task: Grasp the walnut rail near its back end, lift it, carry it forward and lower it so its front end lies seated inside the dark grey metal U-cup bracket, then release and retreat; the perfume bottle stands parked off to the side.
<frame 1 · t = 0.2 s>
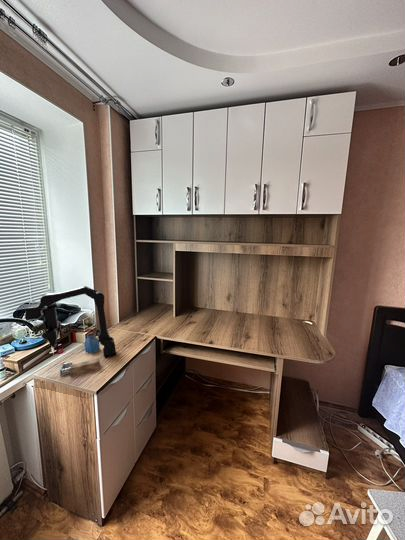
hand: (54, 343, 125), 14 cm above the table, fingers open, 9 cm apart
cup bracket: (68, 370, 123), on the table
perfume bottle: (92, 351, 145), on the table
rail: (86, 370, 122), on the table
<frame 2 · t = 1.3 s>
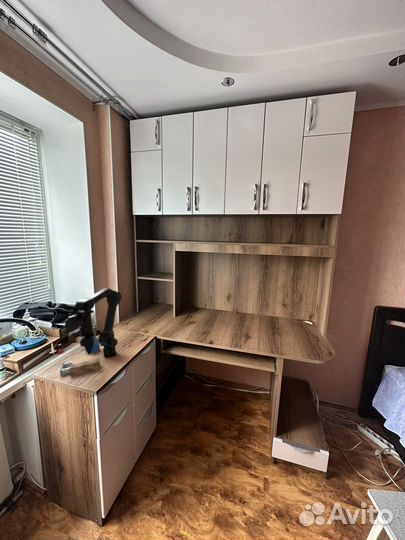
hand: (89, 350, 122), 10 cm above the table, fingers open, 9 cm apart
nothing on the table moved.
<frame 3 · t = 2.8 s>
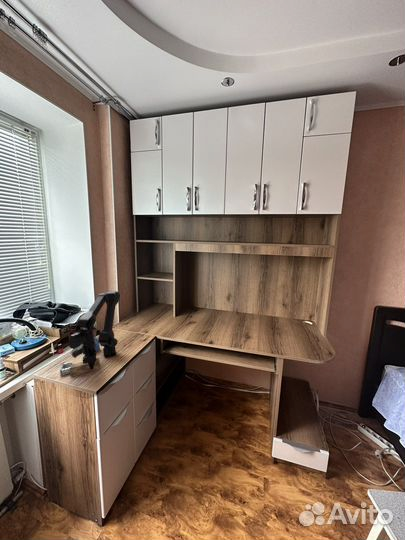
hand: (91, 367, 123), 1 cm above the table, fingers closed on rail, 4 cm apart
rail: (86, 370, 122), on the table, touching gripper
everything else where it was.
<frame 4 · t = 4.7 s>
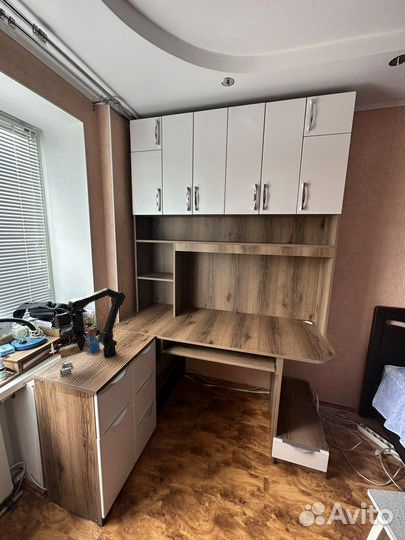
hand: (81, 348, 125), 11 cm above the table, fingers closed on rail, 4 cm apart
rail: (76, 352, 124), point 9 cm above the table, touching gripper
everything else where it was.
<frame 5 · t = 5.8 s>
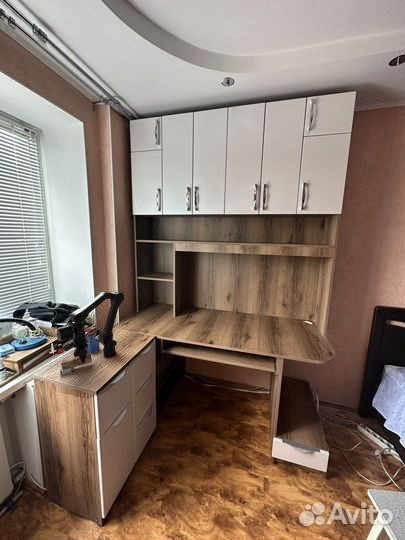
hand: (83, 360, 126), 3 cm above the table, fingers closed on rail, 4 cm apart
rail: (78, 364, 125), point 2 cm above the table, touching gripper
everything else where it was.
when the fingers open (2 cm above the table, at t = 6.5 s): rail stays where it is, on the table.
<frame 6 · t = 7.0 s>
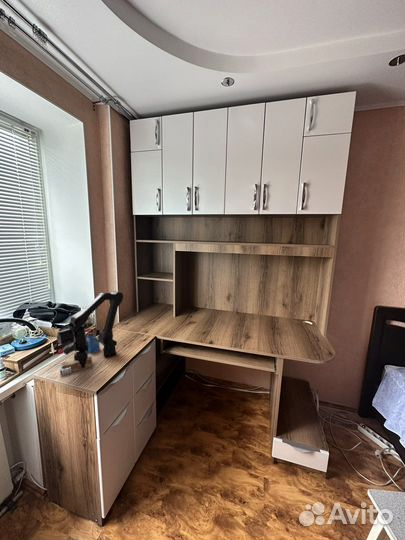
hand: (83, 363, 126), 2 cm above the table, fingers open, 9 cm apart
rail: (78, 368, 125), on the table
everything else where it was.
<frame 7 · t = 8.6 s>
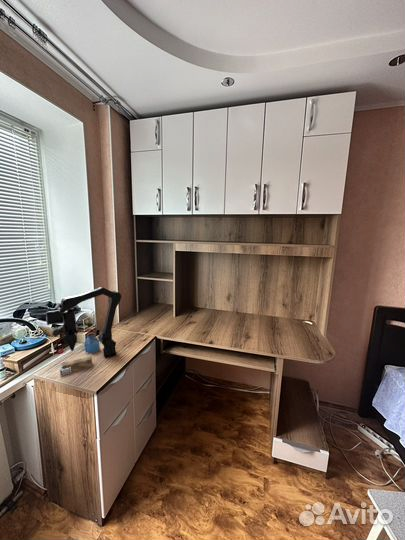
hand: (72, 347, 125), 12 cm above the table, fingers open, 9 cm apart
nothing on the table moved.
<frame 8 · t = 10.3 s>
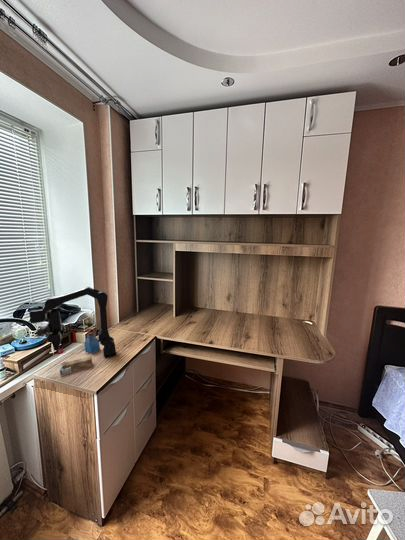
hand: (58, 346, 126), 12 cm above the table, fingers open, 9 cm apart
nothing on the table moved.
at the end: rail 0.8 cm from the target spot on the table beside the cup bracket, on the table; rail tilted 0°; the gripper is holding nothing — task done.
